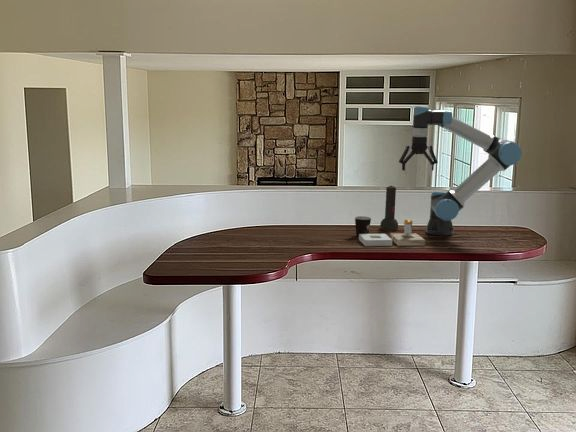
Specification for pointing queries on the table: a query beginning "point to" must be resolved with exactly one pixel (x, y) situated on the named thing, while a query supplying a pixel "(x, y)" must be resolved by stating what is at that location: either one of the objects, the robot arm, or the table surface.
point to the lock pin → (407, 228)
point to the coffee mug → (362, 225)
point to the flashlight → (390, 211)
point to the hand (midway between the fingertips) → (417, 176)
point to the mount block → (375, 240)
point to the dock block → (407, 240)
